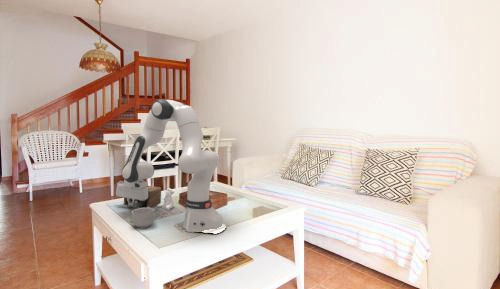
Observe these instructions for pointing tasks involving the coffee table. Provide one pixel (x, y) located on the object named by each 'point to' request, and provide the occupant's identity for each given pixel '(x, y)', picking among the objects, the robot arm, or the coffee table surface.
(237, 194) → the coffee table surface
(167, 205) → the seated beast figurine
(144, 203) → the tray
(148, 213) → the teacup
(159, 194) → the wooden plank crate
